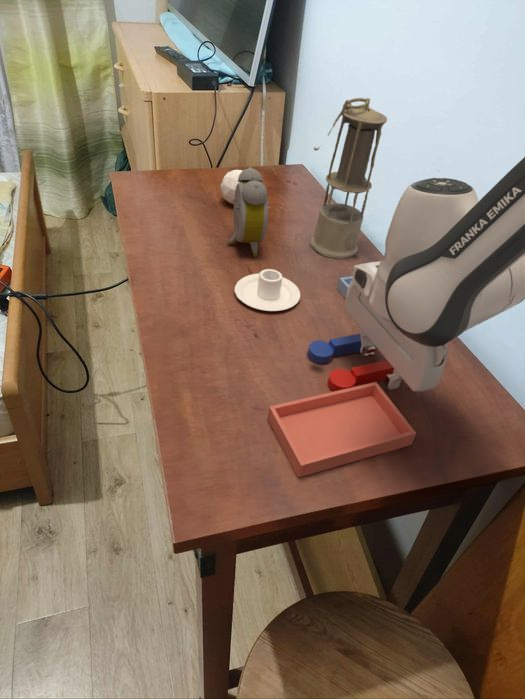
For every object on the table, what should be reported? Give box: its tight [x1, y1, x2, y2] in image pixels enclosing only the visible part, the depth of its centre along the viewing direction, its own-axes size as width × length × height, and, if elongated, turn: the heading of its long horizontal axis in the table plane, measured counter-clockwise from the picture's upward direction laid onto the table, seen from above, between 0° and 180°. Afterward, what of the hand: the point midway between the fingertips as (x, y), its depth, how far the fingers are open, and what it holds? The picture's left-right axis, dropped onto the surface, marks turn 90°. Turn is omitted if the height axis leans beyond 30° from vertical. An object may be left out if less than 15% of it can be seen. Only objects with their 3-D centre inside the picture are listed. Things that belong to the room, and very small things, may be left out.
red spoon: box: [327, 359, 394, 392], centre depth 78 cm, size 13×4×2 cm, turn 112°
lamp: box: [309, 97, 388, 260], centre depth 100 cm, size 10×13×30 cm
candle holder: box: [233, 268, 301, 312], centre depth 92 cm, size 12×12×4 cm
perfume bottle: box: [220, 169, 244, 205], centre depth 120 cm, size 8×8×12 cm
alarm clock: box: [226, 166, 269, 258], centre depth 102 cm, size 12×7×15 cm, turn 9°
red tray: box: [267, 381, 417, 478], centre depth 69 cm, size 17×10×2 cm, turn 112°
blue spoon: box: [307, 333, 377, 365], centre depth 83 cm, size 13×4×2 cm, turn 112°
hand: (378, 369), depth 78 cm, fingers open, 6 cm apart
